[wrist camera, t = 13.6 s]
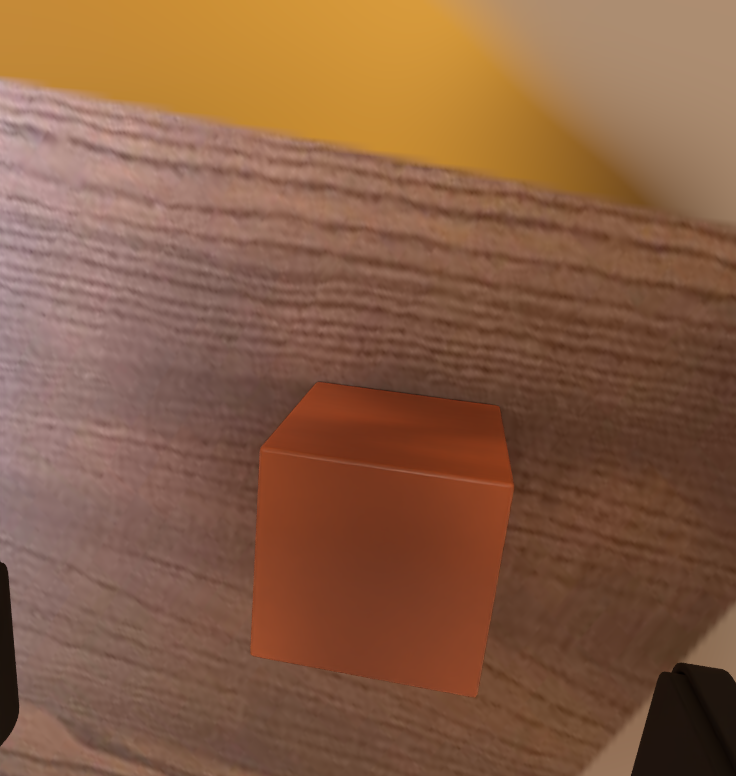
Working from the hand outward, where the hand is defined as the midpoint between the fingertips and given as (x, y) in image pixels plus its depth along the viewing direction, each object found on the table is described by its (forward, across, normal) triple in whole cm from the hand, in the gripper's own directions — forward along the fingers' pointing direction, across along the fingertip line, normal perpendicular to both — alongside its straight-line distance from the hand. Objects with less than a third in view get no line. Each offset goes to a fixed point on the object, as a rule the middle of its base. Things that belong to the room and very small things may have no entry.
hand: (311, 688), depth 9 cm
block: (+7, -1, 0) cm, 7 cm away
